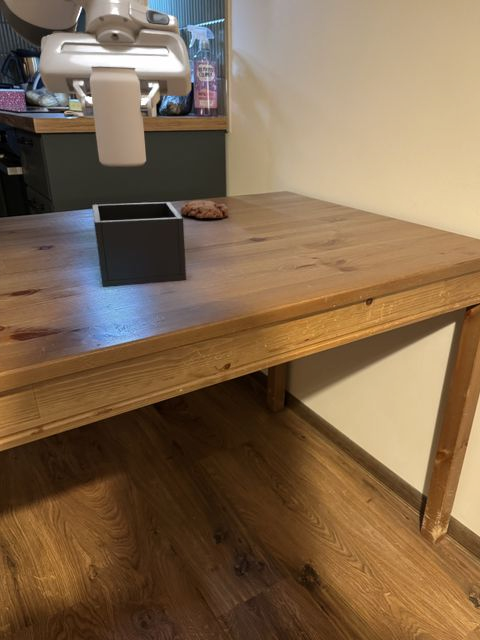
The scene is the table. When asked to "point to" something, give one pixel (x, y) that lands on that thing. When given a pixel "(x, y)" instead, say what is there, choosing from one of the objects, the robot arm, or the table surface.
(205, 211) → the cookie
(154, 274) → the dark grey open box
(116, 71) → the can
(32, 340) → the table surface
